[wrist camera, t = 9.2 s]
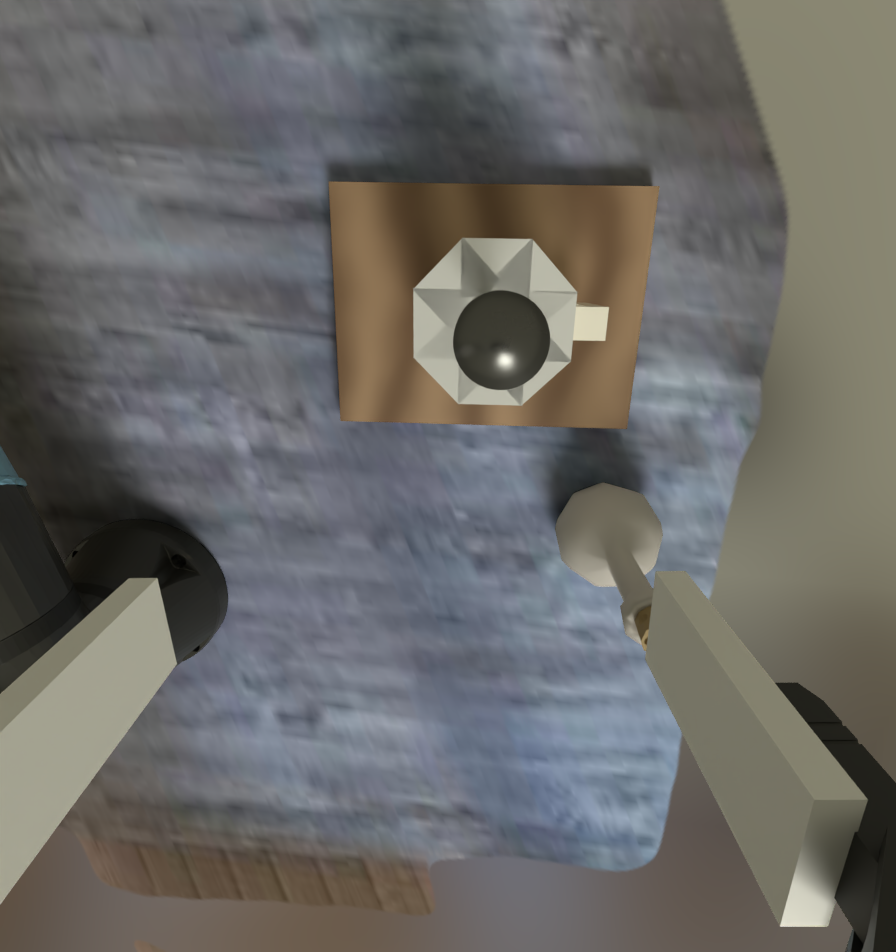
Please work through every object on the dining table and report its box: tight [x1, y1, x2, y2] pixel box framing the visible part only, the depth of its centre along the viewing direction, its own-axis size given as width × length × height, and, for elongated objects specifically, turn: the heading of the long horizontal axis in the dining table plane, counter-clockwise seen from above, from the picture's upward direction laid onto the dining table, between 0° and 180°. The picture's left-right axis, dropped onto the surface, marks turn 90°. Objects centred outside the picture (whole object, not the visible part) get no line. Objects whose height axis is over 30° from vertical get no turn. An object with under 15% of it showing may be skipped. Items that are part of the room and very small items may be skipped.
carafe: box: [413, 238, 609, 406], centre depth 36 cm, size 12×9×13 cm
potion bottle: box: [555, 482, 663, 651], centre depth 41 cm, size 9×9×18 cm
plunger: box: [453, 290, 550, 390], centre depth 32 cm, size 4×4×20 cm
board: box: [329, 182, 659, 429], centre depth 43 cm, size 24×18×2 cm
